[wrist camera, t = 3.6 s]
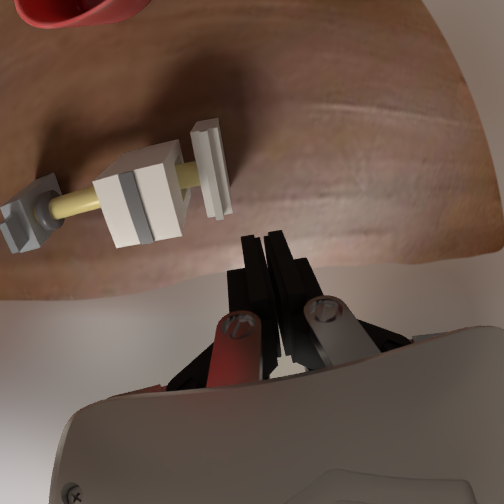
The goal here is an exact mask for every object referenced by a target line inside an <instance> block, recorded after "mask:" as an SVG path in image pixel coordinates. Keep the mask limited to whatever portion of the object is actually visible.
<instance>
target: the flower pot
mask: <svg viewBox="0 0 504 504" xmlns="http://www.w3.org/2000/svg"><path fill="white" fill-rule="evenodd" d="M14 1H15V6H16V10H17V12H18V14H19V15H20V17H21V18H22V19H23V20H24V21H25V22H27V23H28V24H30V25H32V26H35V27H38V28H47V29H51V28H65V27H76V26H87V25H98V24H109V23H116V22H120V21H123V20H126V19H128V18H130V17H132V16H133V15H135V14H137V13H138V12H139V11H141V10H142V9H143V8H144V7H145V6H146V5H147V4H148V3H149V2H150V0H14Z"/></svg>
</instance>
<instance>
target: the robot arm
mask: <svg viewBox="0 0 504 504" xmlns="http://www.w3.org/2000/svg"><path fill="white" fill-rule="evenodd" d="M241 242H242V249H243V256H244V263H245V268H242V269H236V270H230V271H227V282H228V298H229V314H227V315H225V316H224V317H222V319H221V320H220V321H219V323H218V325H217V328H216V334H215V340H214V342H213V343H212V344H211V345H210V346H209V347H208V348H207V349H206V350H204V351H203V352H202V353H201V354H200V355H199V356H198V357H197V358H195V359H194V360H193V361H192V362H191V363H190V364H189V365H188V366H186V367H185V368H184V369H183V370H182V371H181V372H180V373H178V374H177V375H176V376H175V377H174V378H173V379H172V380H171V381H170V382H169V383H168V385H167V386H163V387H161V385H160V384H159V385H155V386H152V387H148V388H144V389H140V390H136V391H132V392H128V393H124V394H119V395H115V396H112V397H109V398H107V399H105V400H101V401H98V402H95V403H93V404H90V405H88V406H86V407H84V408H82V409H80V410H79V411H77V412H76V413H75V414H74V415H73V416H72V417H71V418H70V419H69V421H68V422H67V424H66V426H65V428H64V431H63V433H62V436H61V439H60V442H59V445H58V449H57V453H56V457H55V463H54V467H53V472H52V479H51V487H50V496H49V504H504V329H502V328H499V327H495V326H473V327H465V328H461V329H457V330H453V331H450V332H443V333H435V334H426V335H417V336H412V339H407V338H406V337H404V336H402V335H400V334H397V333H394V332H391V331H388V330H386V329H383V328H380V327H377V326H375V325H372V324H369V323H366V322H363V321H361V320H358V319H356V317H355V316H354V315H353V314H352V312H351V311H350V310H349V308H348V307H347V305H346V304H345V303H344V302H343V301H342V300H341V299H339V298H337V297H333V296H324V295H323V293H322V291H321V288H320V286H319V284H318V282H317V279H316V277H315V275H314V273H313V271H312V268H311V266H310V264H309V262H308V260H307V258H300V259H294V260H293V257H292V255H291V252H290V249H289V247H288V244H287V242H286V239H285V237H284V234H283V232H282V230H278V231H272V232H268V236H264V244H265V251H266V259H267V264H266V260H265V256H264V252H263V248H262V244H261V240H260V237H258V238H255V237H254V235H248V236H242V237H241ZM267 267H268V268H267ZM278 325H279V329H280V333H281V337H282V342H283V346H284V350H285V354H286V356H288V355H291V357H292V361H293V363H295V362H297V363H299V364H301V365H303V366H305V371H306V372H304V373H299V374H294V375H288V376H283V377H278V378H272V379H270V374H271V373H272V371H273V370H274V369H275V368H276V367H277V366H278V362H277V357H281V347H280V338H279V329H278Z"/></svg>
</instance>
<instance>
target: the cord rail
mask: <svg viewBox="0 0 504 504" xmlns="http://www.w3.org/2000/svg"><path fill="white" fill-rule="evenodd" d="M190 135H191V140H192V145H193V150H194V155H195V160H196V161H193V162H188V163H183V164H178V165H175V169H176V173H177V178H178V182H179V186H180V189H185V188H190V187H195V186H201V188H202V193H203V198H204V202H205V207H206V211H207V216H208V217H214V216H216V221H217V220H223V219H224V215H226V214H231V213H233V212H232V202H231V191H230V184H229V178H228V172H227V166H226V161H225V155H224V149H223V143H222V137H221V131H220V126H219V120H218V118H213V119H208V120H202V121H197V122H196V123H195V125H194V127H193V128H192V130H191V132H190ZM97 208H101V206H100V203H99V200H98V197H97V194H96V191H95V188H94V186H91V187H87V188H84V189H81V190H77V191H74V192H71V193H68V194H65V195H62V193H61V191H60V188H59V185H58V182H57V179H56V176H55V173H51V174H49V175H46V176H44V177H41V178H39V179H36V180H34V181H33V182H31V183H30V184H29V185H27V186H26V187H25V188H24V189H22V190H21V191H20V192H18V193H17V194H16V195H15V196H13V197H12V198H11V199H10V200H8V201H7V202H6V203H5V204H4V205H2V206H1V207H0V209H1V211H2V213H3V216H4V218H5V220H4V221H2V222H1V223H0V229H1V231H2V233H3V235H4V237H5V239H6V242H7V244H8V246H9V248H10V250H11V252H12V254H14V253H17V252H20V253H21V252H25V251H29V250H32V249H36V248H40V247H41V246H42V245H43V244H44V242H45V241H46V240H47V239H48V238H49V236H50V235H51V234H52V233H53V232H54V230H55V229H58V228H60V227H61V226H62V225H63V223H64V219H65V218H66V217H68V216H71V215H75V214H79V213H82V212H86V211H90V210H94V209H97Z"/></svg>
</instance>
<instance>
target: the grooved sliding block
mask: <svg viewBox="0 0 504 504" xmlns="http://www.w3.org/2000/svg"><path fill="white" fill-rule="evenodd" d="M183 163H184V161H183V156H182V152H181V147H180V142H179V139H177V140H172V141H168V142H164V143H159V144H155V145H151V146H147V147H143V148H139V149H136V150H132V151H128V152H125V153H124V154H122V155H121V156H120V157H119V158H118V159H117V160H115V161H114V162H113V163H112V164H111V165H110V166H109V167H108V168H106V169H105V170H104V171H103V172H102V173H101V174H100V175H99V176H98V177H97V178H96V179H95V180H93V181H92V182H93V185H94V188H95V191H96V194H97V197H98V200H99V203H100V206H101V209H102V211H103V214H104V217H105V220H106V222H107V225H108V228H109V230H110V233H111V235H112V238H113V241H114V243H115V246H116V248H120V247H125V246H131V245H136V244H141V245H143V244H148V243H154V241H157V240H162V239H168V238H173V237H179V236H182V233H183V228H184V224H185V219H186V214H187V210H188V205H189V201H190V197H191V192H190V188H185V189H180V186H179V182H178V178H177V173H176V169H175V165H178V164H183Z"/></svg>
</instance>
